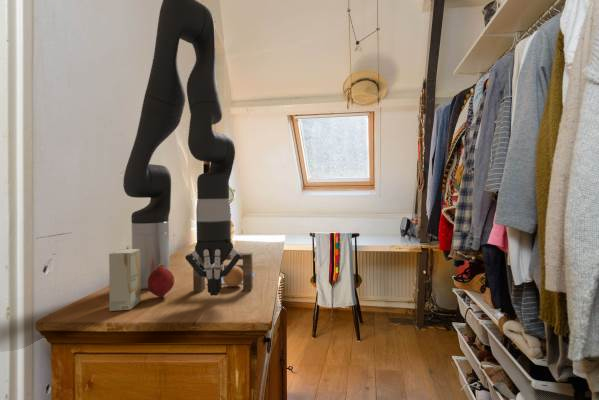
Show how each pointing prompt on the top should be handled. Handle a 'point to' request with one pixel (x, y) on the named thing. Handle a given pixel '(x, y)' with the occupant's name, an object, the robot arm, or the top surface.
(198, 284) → the bridge
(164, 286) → the onion
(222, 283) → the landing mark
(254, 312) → the top surface
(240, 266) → the stopper strip
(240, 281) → the ball
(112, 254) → the skincare box
